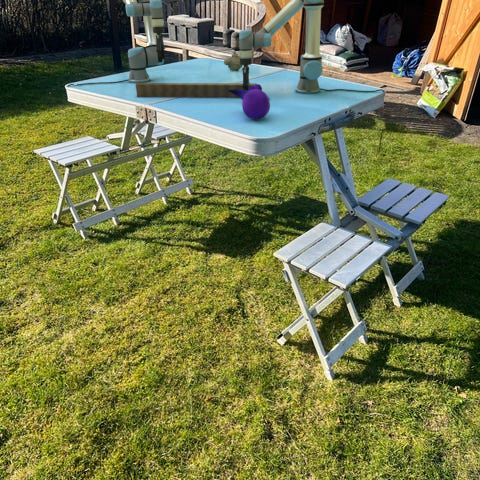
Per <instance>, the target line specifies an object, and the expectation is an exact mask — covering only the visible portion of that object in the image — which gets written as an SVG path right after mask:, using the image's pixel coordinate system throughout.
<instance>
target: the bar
mask: <svg viewBox="0 0 480 480" xmlns="http://www.w3.org/2000/svg"><path fill="white" fill-rule="evenodd" d="M256 84H258V83H253V82H252V83H251V82H249V83H247V85H248V86H247V87H248V91H249V90H250V87H251V86H253V85H256ZM242 86H243V82H240V83H239V82H238V83H237V82H236V83H235V82H208V83H207V82H143V83H135V90H136V91H135V92H136V98H206V99H207V98H212V99H213V98H216V99H217V98H221V99H222V98H223V99H224V98H225V99H227V98H228V99H241V98H240V97H238V96H236V95H234V94H232V93H231V92H229V91H228V90H243V87H242Z"/></svg>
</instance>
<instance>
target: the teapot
mask: <svg viewBox="0 0 480 480" xmlns="http://www.w3.org/2000/svg"><path fill="white" fill-rule="evenodd" d="M240 58H241V57H240V54H238V53H237V52H236V50H233V53H232V54H231V57H226V58H225V59H224V60H223V64H224V65H225V66H227V67H228V69H229V71H231V72H237V71H240V69H242V68H243V67H244V65H240Z"/></svg>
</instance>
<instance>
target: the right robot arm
mask: <svg viewBox="0 0 480 480" xmlns="http://www.w3.org/2000/svg"><path fill="white" fill-rule="evenodd" d="M324 5H325V1H324V0H290V1H289V2H288V3H287V4H286V5H285V6H284V7H283V8H281V10H280V11H278V12H277V13H276V14H275V16H273V17H272V18H271V19H270V20H269V21H268V22H267V23H266V24H265V25H264V26H263V27H262V28H261V29H260V30H258V31H256V33H253V32H252V30H251V29H242V30H239V32H238V33H239V34H238V35H239V37H238V38H239V39H238V40H239V42H238V44H239V51H238V52H239V55H240V57H241V58H240V65H243V66H242V67H241V69H242V83H243V86H242V87H243V90H247V91H248V87H247V86H248V85H247V83H250V66H251V65H252V64H253V58H252V56H253V53H254V52H253V51H252V50H253V48H269V47H272V37H273V36H274V35H275V34H276V33H277V32H279V30H281V29H282V28H283V26H285V25H286V24H287V23H288V22H289V21H290V20H291V19H293V17H295V15H296V14H297V13H299V12H300V11H301V10H302V9H303V8H304V9H305V52H304V54H301V55H300V67H299V80H298V82H297V86H296V90H295V91H296V93H299V94H317V93H319V92H320V91H324V92H334V91H335V92H336V91H344V92H345V91H346V92H355V93H356V92H357V93H376V92H381V91H382V92H383V93H385V92H386V91H385V90H384V89H383V88H379V89H375V90H357V89H345V88H335V89H334V88H333V89H325V88H321V87H320V84H319V81H318V79H319V78H320V77H321V76H322V74H323V71H324V70H323V69H324V68H323V61H322V60H323V55H322V54H321V51H320V50H321V49H320V48H321V19H322V8H323V7H324ZM383 133H384V129H381V133H380V139H379V140H380V141H379V145H378V153H380V152H381V145H382V138H383Z"/></svg>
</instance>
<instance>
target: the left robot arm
mask: <svg viewBox="0 0 480 480" xmlns="http://www.w3.org/2000/svg"><path fill="white" fill-rule="evenodd" d="M122 2H123V3H124V4H125V14H126V16H127V17H131V18H133V17H142V18H143V23H144V31H145V37H146V43H147V44H146V46H145V48H144V47H143V46H137V47H132V48H130V49H128V50H127V57H128V64H129V65H128V66H129V76H128V79H124V80H118V81H100V82H86V83H76V84H77V85H74V84H75V83H69V84H70V85H69V84H68V85H67V87H68V88H69V87H70V86H76V87H77V86H85V85H98V84H99V85H100V84H117V83H124V82H129V83H133V84H137V83H149V82H150V75H149V74H148V71H147V66H148V67H149V66H161V65H164V63H165V60H166V54H165V52H166V51H165V50H166V47H165V44H164V43H165V42H164V37H163V34H164V33H165V26H164V24H165V20H164V14H163V13H164V12H163V3H162V0H122ZM72 131H73V135H76V132H75V129H73V130H72Z"/></svg>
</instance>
